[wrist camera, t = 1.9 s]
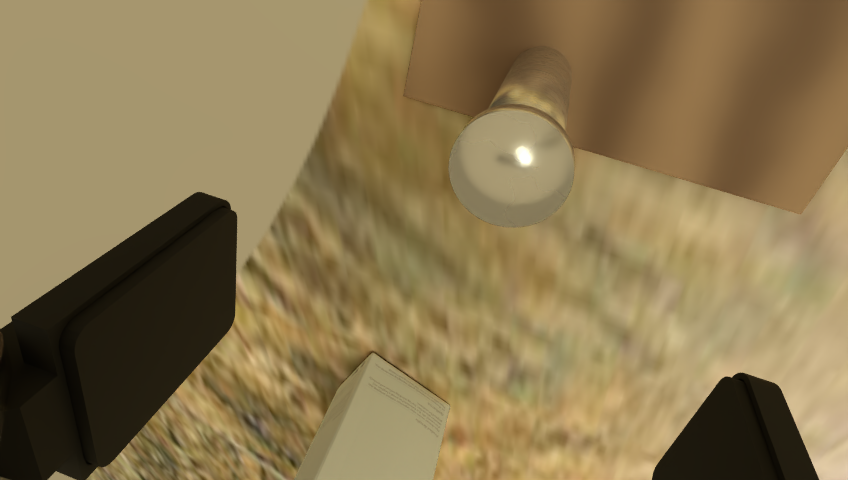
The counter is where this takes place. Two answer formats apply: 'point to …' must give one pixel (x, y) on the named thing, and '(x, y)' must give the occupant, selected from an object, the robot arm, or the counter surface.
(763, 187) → the hinge board
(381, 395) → the skincare box
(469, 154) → the hinge pin
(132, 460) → the counter surface
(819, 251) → the counter surface
